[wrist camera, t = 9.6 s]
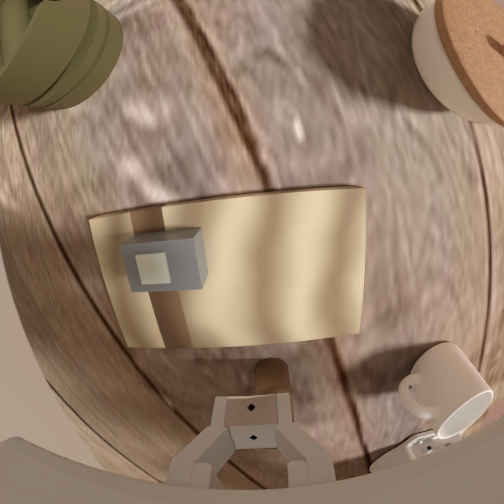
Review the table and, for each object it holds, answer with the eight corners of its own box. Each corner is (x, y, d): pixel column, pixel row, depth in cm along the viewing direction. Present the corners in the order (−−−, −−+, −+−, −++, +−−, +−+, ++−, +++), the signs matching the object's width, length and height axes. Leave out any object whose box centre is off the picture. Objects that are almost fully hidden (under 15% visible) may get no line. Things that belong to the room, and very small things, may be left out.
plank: (359, 185, 22) (365, 188, 21) (354, 324, 27) (359, 333, 26) (96, 216, 24) (88, 219, 22) (132, 339, 28) (128, 347, 27)
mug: (375, 391, 31) (399, 452, 21) (398, 342, 28) (436, 404, 18) (440, 382, 31) (469, 430, 21) (465, 338, 28) (504, 384, 18)
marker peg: (287, 356, 28) (296, 427, 19) (288, 379, 30) (296, 447, 21) (253, 359, 29) (251, 430, 20) (256, 382, 30) (255, 450, 21)
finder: (201, 227, 22) (192, 239, 19) (208, 273, 24) (201, 291, 20) (134, 234, 23) (118, 246, 19) (144, 277, 24) (130, 294, 21)
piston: (-39, 135, 9) (-43, 44, 6) (51, 130, 21) (30, 59, 17) (60, 13, 7) (45, -54, 4) (138, 61, 19) (106, -6, 15)
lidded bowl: (397, -3, 15) (451, -50, 5) (486, 58, 16) (550, 45, 6) (379, 91, 19) (454, 61, 9) (475, 150, 20) (553, 162, 10)
